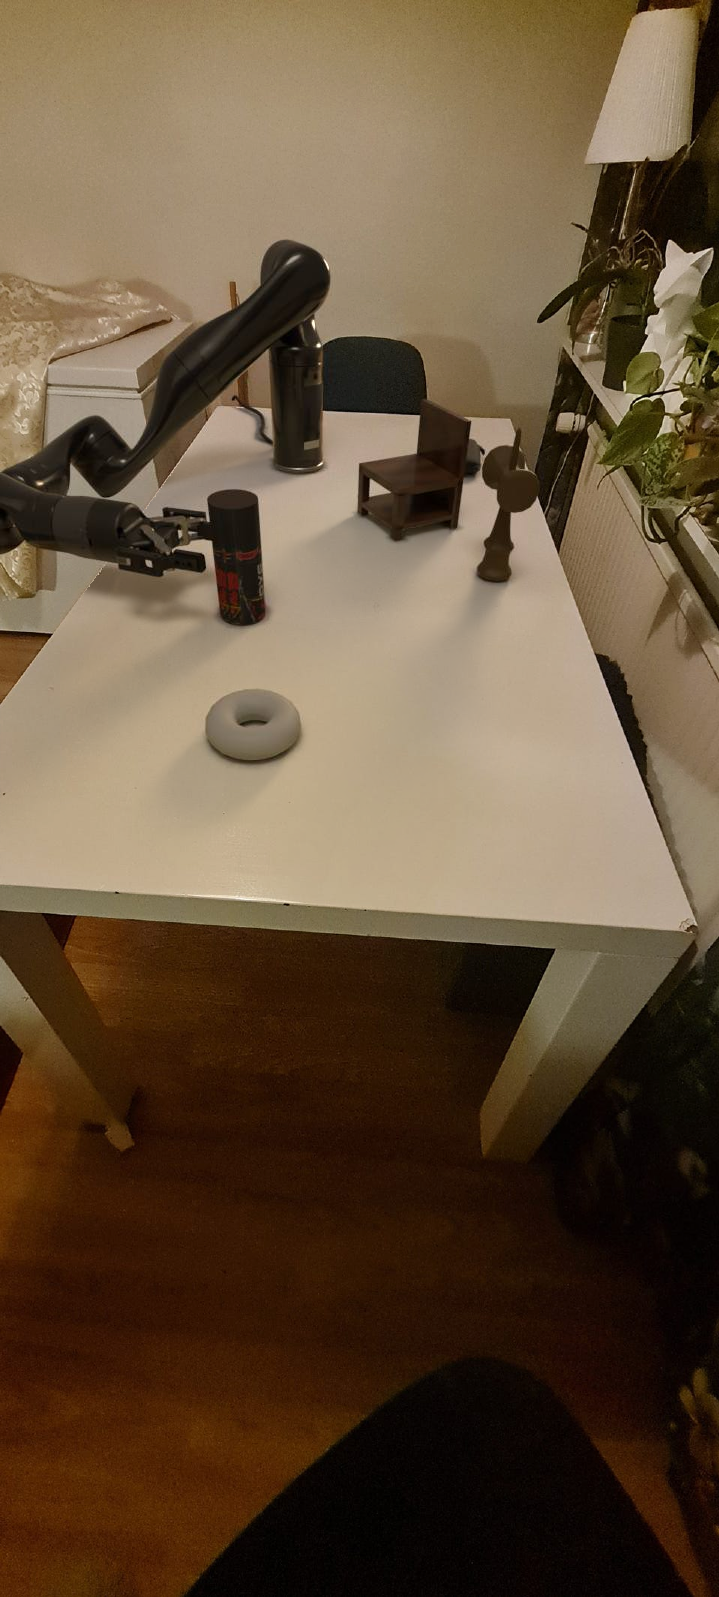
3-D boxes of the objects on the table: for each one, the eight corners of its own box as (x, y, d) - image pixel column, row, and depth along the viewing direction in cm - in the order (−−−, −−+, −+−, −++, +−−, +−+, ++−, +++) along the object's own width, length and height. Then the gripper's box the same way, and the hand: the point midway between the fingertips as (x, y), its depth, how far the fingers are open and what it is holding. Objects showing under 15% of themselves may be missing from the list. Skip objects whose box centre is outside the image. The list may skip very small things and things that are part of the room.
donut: (278, 777, 71) (315, 719, 77) (276, 751, 68) (315, 693, 75) (189, 754, 73) (232, 698, 80) (184, 728, 70) (229, 673, 77)
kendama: (506, 560, 107) (533, 416, 93) (521, 591, 100) (553, 440, 86) (467, 560, 107) (488, 415, 93) (479, 591, 100) (505, 439, 86)
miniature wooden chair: (357, 513, 118) (360, 407, 107) (417, 501, 123) (426, 398, 111) (395, 541, 111) (403, 431, 100) (457, 527, 115) (471, 420, 104)
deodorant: (221, 602, 95) (208, 488, 85) (265, 602, 96) (258, 488, 85) (218, 625, 91) (205, 508, 80) (265, 625, 91) (257, 508, 81)
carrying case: (485, 480, 131) (483, 453, 141) (487, 462, 129) (485, 436, 139) (427, 475, 131) (430, 449, 142) (429, 458, 129) (431, 432, 140)
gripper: (132, 535, 98) (242, 553, 95) (77, 582, 88) (198, 603, 85) (122, 479, 93) (237, 496, 90) (61, 522, 83) (190, 542, 80)
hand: (218, 548), depth 88 cm, fingers open, 8 cm apart
